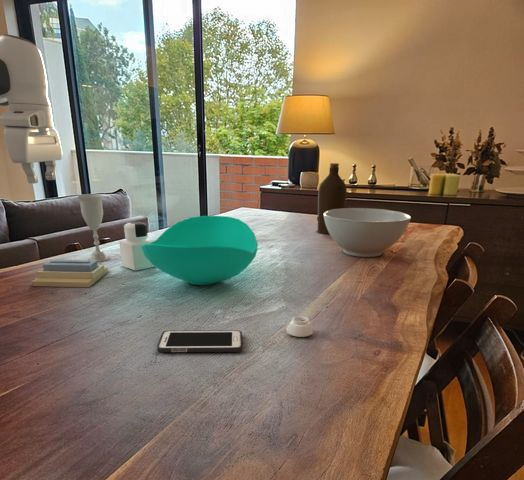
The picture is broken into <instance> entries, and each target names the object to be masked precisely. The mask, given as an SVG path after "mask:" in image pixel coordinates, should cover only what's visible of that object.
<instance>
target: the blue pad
mask: <svg viewBox="0 0 524 480" xmlns="http://www.w3.org/2000/svg"><path fill="white" fill-rule="evenodd" d="M98 265H99V264H98V261H97V260H90V259H88V260H87V259H82V260H81V259H49V260H48V261H46V262H44V263H42V269H43V270H42V271H58V272H92V271H94V270H95V269H96V268H98Z"/></svg>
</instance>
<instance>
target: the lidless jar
mask: <svg viewBox="0 0 524 480" xmlns="http://www.w3.org/2000/svg"><path fill="white" fill-rule="evenodd" d="M286 333H287V334H288V335H290V336H291V337H292V336H293V337H296V338H305V337H309V336H311V335H313V333H314V328H313V326H312V324H311V322H310V321H309V318H308V317H307V316H303V315H297V316H293V317H292V319H291V321H290V322H289V323H288V325H287V327H286Z"/></svg>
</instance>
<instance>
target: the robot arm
mask: <svg viewBox="0 0 524 480" xmlns="http://www.w3.org/2000/svg"><path fill="white" fill-rule="evenodd" d="M0 106H1V107H6V106H8V109H7V110H6V111H5V112H4V113H2V114H0V125H1V126H2V127H4V129H3V134H4V141H5V145H6V150H7V155H8V157H9V159H10V161H11V162H12V163H14V164H21V168H22V170H23V173H24V174H25V176H26V180H27V183H28V184H37V183H38V182H39V180H38V175H37V174H36V173H35V170H34V168H35V163H43V162H44V165H45V166H46V171H45V172H44V174H45V179H46V180H47V181H55V180H56V167H57V163H56V161H61V160H62V159H63V149H62V145H61V139H60V135H59V132H58V130H57V129H56V128H55V126H54V121H53V120H54V119H53V114H52V112H53V111H52V107H51V106H52V105H51V102H50V100H49V97H48V79H47V73H46V68H45V63H44V59H43V56H42V53H41V50H40V49H39V47H38V46H37V45H36V44H35V43H33V42H32V41H30V40H28V39H27V38H24V37H20V36H17V35H12V34H4V33H3V34H1V35H0Z"/></svg>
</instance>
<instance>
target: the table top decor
mask: <svg viewBox="0 0 524 480" xmlns="http://www.w3.org/2000/svg"><path fill="white" fill-rule="evenodd" d="M153 241H154V242H152V243H150V244H144V245H143V246H142V250H143V253H144V255H145V257H146V258H147V259H148V260H149V261H150V262H151V263H152V264H153V265H154V266H155V267H154V268H157V269H158V270H160V271H161V272H163V273H164V274H167V275H169V276H171V277H174V278H176V279H179V280H182V281H184V282H186V283H188V284H190V285H194V286H210V285H214V284H216V283H218V282H222V281H226V280H230V279H231V278H233V277H236V276H238V275H239V274H240V273H241V272H243V271H244V270H246V269H247V268H248V267H249V266H250V265H251V263H252V262H253V261H254V259H255V258H256V256H257V252H258V246H259V245H258V240H257V237H256V234H255V232H254V231H253V230H252V228H251V227H250V225H248V224H247V223H245V222H244V221H243V220H240V219H239V218H236V217H231V216H224V215H200V216H193V217H192V216H191V217H189V218H186V219H183V220H180V221H178V222H176V223H174V224H173V225H172V226H170V227H168V228H167V229H165V230H164V232H162V233H161V234H160V236H159V237H158V238H157V239H156V240H153Z"/></svg>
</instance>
